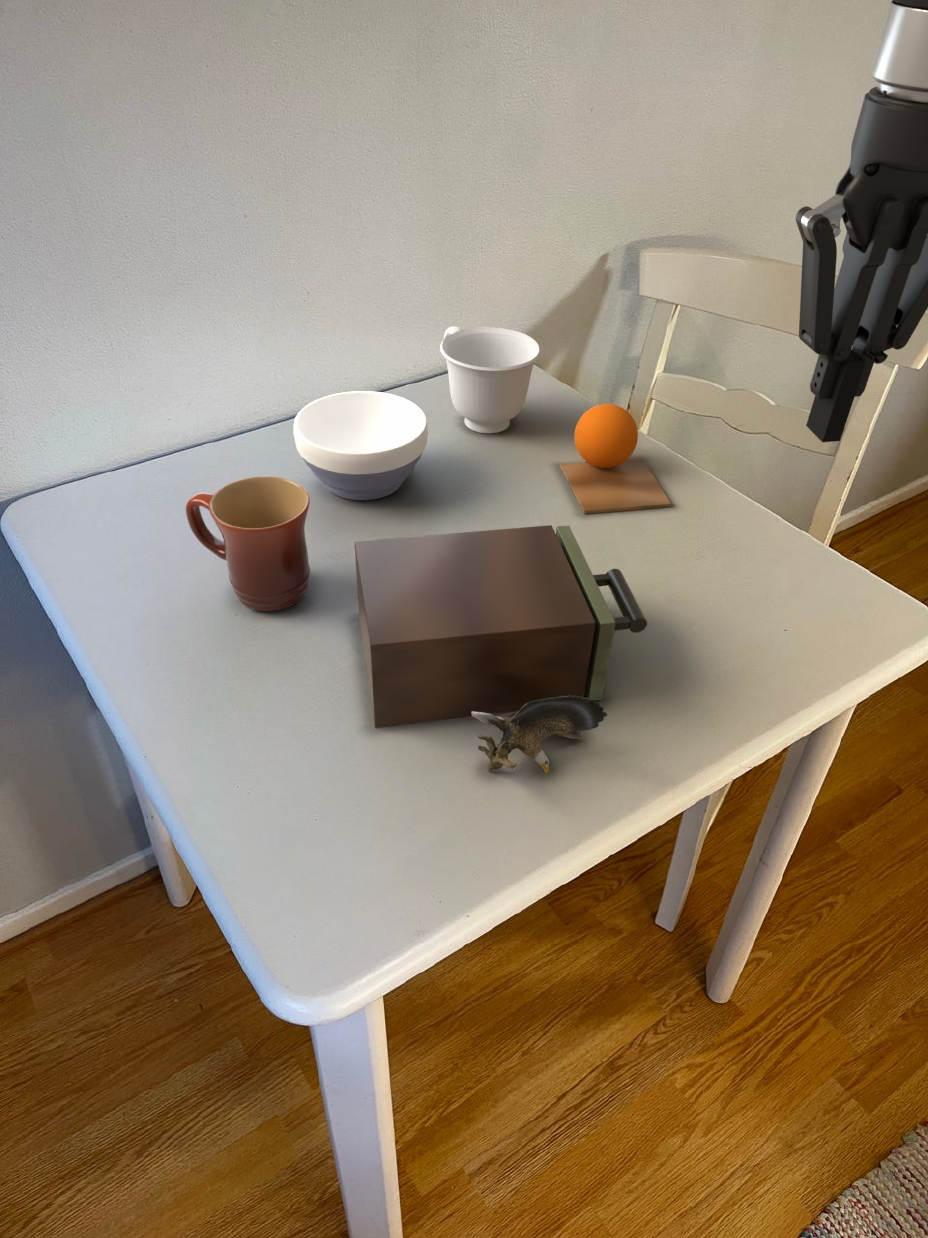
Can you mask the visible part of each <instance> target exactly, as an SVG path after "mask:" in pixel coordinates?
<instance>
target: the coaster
mask: <svg viewBox="0 0 928 1238" xmlns="http://www.w3.org/2000/svg"><path fill="white" fill-rule="evenodd" d="M559 467H560V469H561V471H562V473H563V476H564V477H565V479H566V481H567V483H568V485H569V486H570V489H571V491H572V493H573V495H574V496H575V497H574V498H576V501H577V502H578V504H579V506H580V508H581V510H582V512H583V514H584V515H587V514H599V513H611V512H620V511H621V512H623V511H624V512H625V511H634V510H635V511H637V510H647V509H659V508H671V507H672V502H671V501H670V499H669V497H668V496H667V495H666V493H665V491H664V490H663V488H662V487H661V486H660V484H659V482H658V481H657V479H656V478H655V476H654V474H653V472H652V471H651V470H650V469H649V466H648V465H647V464H646V462H645V461H644V459H643V458H642V457H639V458H628V459H627V460H626V461H625V462H623V463H622V464H620V465H618V466H615V467H611V468H600V467H596V466H593V465H591V464H589V463H588V462H586V461H584V462H583V461H582V462H573V463H571V462H569V463H560V465H559Z"/></svg>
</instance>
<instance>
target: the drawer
mask: <svg viewBox="0 0 928 1238" xmlns="http://www.w3.org/2000/svg"><path fill="white" fill-rule="evenodd" d="M555 527H556V528H555V534H556V536H557V538H558V541H559V543H560V545H561V547H562V550H563V552H564V554H565V556H566V558H567V561H568V563H569V565H570V567H571V569H572V572H573V574H574V576H575V578H576V581H577V583H578V585H579V587H580V589H581V592H582V594H583V596H584V598H585V601H586V603H587V605H588V607H589V609H590V612H591V614H592V616H593V618H594V620H595V630H594V636H593V642H592V648H591V655H590V661H589V667H588V674H587V680H586V686H585V692H584V694H585V696H586V698H588V699H593V700H595V701H601V700H603V696H604V689H605V683H606V678H607V673H608V667H609V661H610V656H611V650H612V644H613V640H614V633H615V631H622V630H623V631H624V630H629V631H630V632H631V633H634V634H635V633H640V632H641V633H642V632H643V631H644V630H646V629H647V626H648V621H647V619H646V617H645V615H644V613H643V611H642V609H641V607H640V605H639V603H638V601H637V599H636V598H635V595H634V593H633V591H632V589H631V588H630V586H629V584H628V582H627V580H626V578H625V576H624V575H623V572H622V571H621V570H620V569H619V568H611V569H609V570H608V571H607V572H606V573H598V574H593V572H592V570H591V568H590V566H589V563H588V562H587V559H586V557H585V556H584V554H583V551H582V549H581V548H580V545H579V542H578V541H577V539H576V537H575V534H574V532H573V530H572V529H571V526H570V525H558V526H555ZM600 587H608V588H609V591H610V593H611V595H612V597H613V599H614V601H615V603H616V605H617V607H618V609H619V611H620V613H621V615H622V616H618V617H613V615H612V612H611V610H610V608H609V606H608V604H607V602H606V600H605V598H604V595H603V594H602V590H601V589H600Z"/></svg>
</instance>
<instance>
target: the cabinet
mask: <svg viewBox="0 0 928 1238" xmlns="http://www.w3.org/2000/svg"><path fill="white" fill-rule="evenodd" d="M353 544H354V546H353V547H354V559H355V576H356V590H357V591H356V592H357V606H358V621H359V628H360V629H359V630H360V636H361V642H362V650H363V655H364V656H363V657H364V663H365V669H366V677H367V684H368V690H369V698H370V704H371V712H372V718H373V724H374V728H383V727H393V726H401V725H408V724H410V725H411V724H417V723H425V722H434V721H435V722H436V721H443V720H453V719H460V718H469V717H473V716H472V713H471V712H472V711H474V712H482V713H490V714H492V715H496V714H505V713H512V712H513V713H514V712H518V711H519V710H520V709H521V708H522V707H523V706H524V705H525V704H526V703H529V702H531V701H535V700H541V699H545V698H554V697H560V696H569V695H570V696H577V697H583V698H585V686H586V680H587V674H588V667H589V661H590V655H591V648H592V642H593V636H594V630H595V620H594V618H593V616H592V614H591V612H590V609H589V607H588V605H587V603H586V601H585V598H584V596H583V594H582V592H581V589H580V587H579V585H578V583H577V581H576V578H575V576H574V574H573V572H572V569H571V567H570V565H569V563H568V561H567V558H566V556H565V554H564V552H563V550H562V547H561V545H560V543H559V541H558V538H557V536H556V531H555V530H554V528H553V526H552V524H550V525H549V524H548V525H537V526H535V525H534V526H525V527H514V528H501V529H489V530H478V531H465V532H453V533H440V534H429V535H418V536H417V535H416V536H404V537H394V538H393V537H392V538H383V539H382V538H380V539H368V540H357V541H356V540H355V541H354V542H353Z"/></svg>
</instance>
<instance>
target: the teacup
mask: <svg viewBox="0 0 928 1238" xmlns="http://www.w3.org/2000/svg"><path fill="white" fill-rule="evenodd" d="M439 351H440V353H441V355H442V357H444V358H445V361H446V367H447V368H446V369H447V376H448V383H449V392H450V398H451V403H452V406H453V408H454V409H455V411H456V412H457V413H458V414H459V415H460V416H462V417H463V418H464V421H463V422H464V425H465V426H466V428H468V429H469V430H470V431H472V432H476V433H480V434H497V433H501V432H503V431H505V430H507V429H508V428H509V427H510V423H511V421H510V420H512V419H514V418H515V417H516V416H518V414H519V413H520V412H521V411H522V410H523V408H524V406H525V403H526V399H527V396H528V391H529V387H530V383H531V382H530V381H531V375H532V371H533V367H534V363H535V362H536V361H537V360H538V359H539V358H540V356H541V354H542V350H541V347H540V345H539V343H538V342H537V341H536V340H535V339H534V338H533V337H531V336H529V335H528V334H525V333H524V332H520V331H517V330H513V329H509V328H503V327H491V326H490V327H489V326H483V327H482V326H481V327H480V326H479V327H470V328H465V329H462V328H460V327H458V326H454V325H453V326H449V327H448V328H446V330H445V332H444V335H443V340H442V341H441V343H440V346H439Z"/></svg>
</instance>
